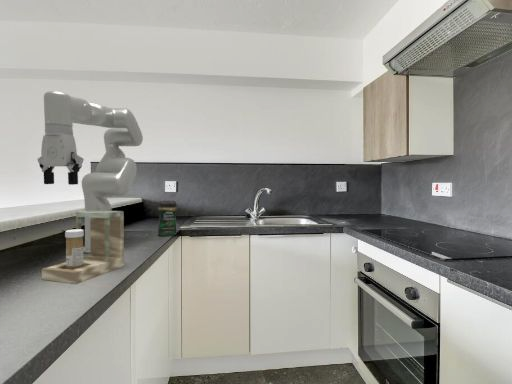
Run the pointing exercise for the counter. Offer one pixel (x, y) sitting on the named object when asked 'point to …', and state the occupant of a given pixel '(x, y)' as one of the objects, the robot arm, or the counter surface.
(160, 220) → the coffee jar
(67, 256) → the sprinkles bottle
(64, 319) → the counter surface
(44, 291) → the counter surface
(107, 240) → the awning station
